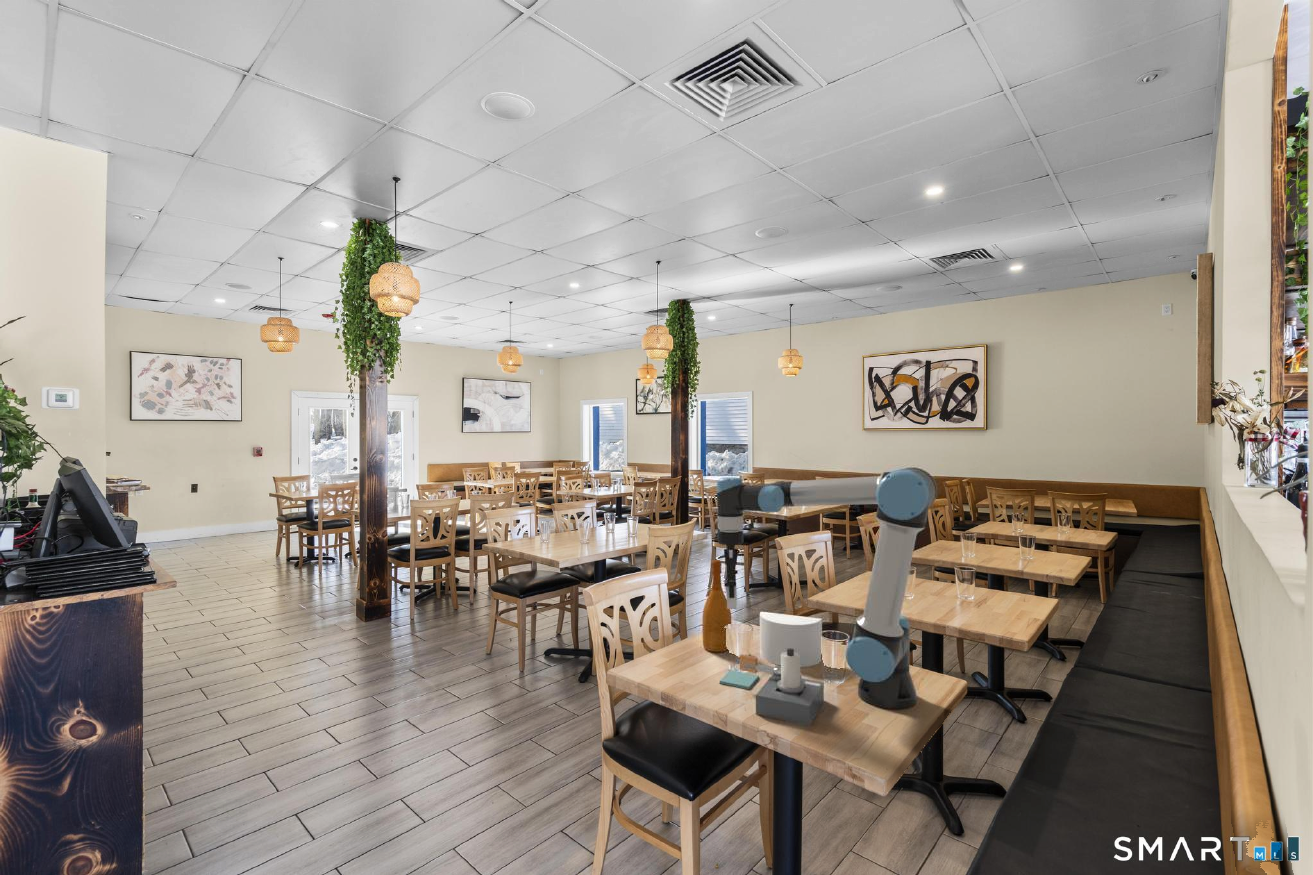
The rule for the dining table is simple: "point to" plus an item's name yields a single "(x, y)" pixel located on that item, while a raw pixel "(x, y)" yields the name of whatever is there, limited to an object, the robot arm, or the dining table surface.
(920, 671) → the dining table surface
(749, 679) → the pad
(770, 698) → the socket block
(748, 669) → the clip lever
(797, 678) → the plug
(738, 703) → the dining table surface
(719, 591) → the wine bottle
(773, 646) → the container
